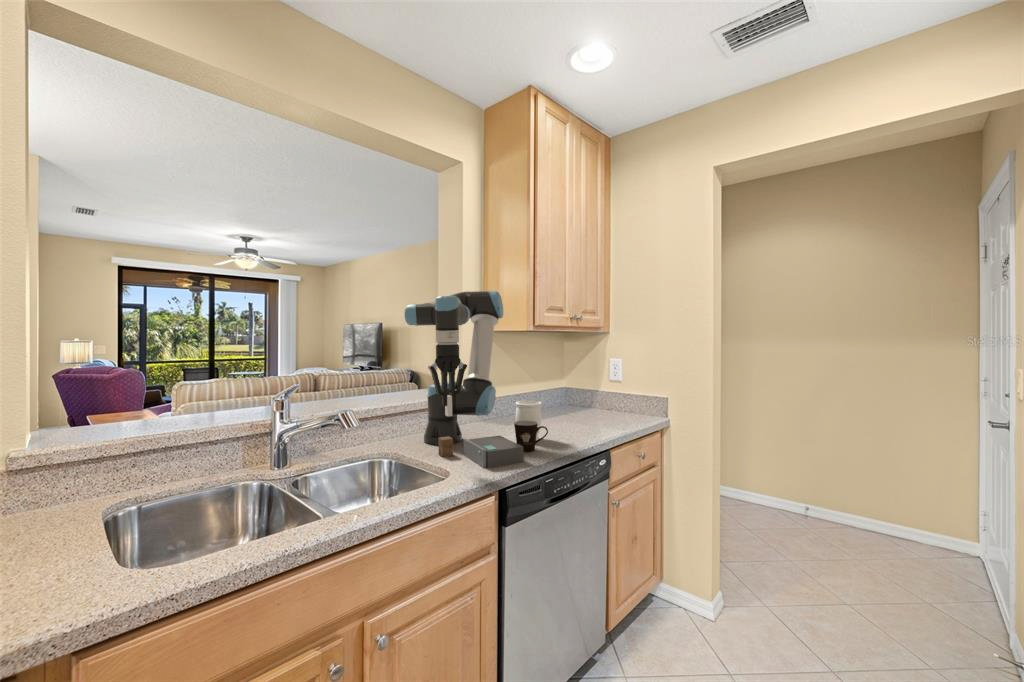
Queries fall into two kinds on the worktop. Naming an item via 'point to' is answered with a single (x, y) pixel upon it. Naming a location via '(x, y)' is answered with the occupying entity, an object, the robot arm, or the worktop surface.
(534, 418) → the jar
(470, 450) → the tray
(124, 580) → the worktop surface
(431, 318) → the robot arm
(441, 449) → the brown wooden block
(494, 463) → the housing
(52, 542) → the worktop surface
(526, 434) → the coffee mug
